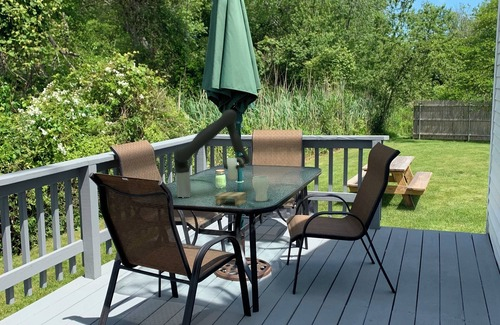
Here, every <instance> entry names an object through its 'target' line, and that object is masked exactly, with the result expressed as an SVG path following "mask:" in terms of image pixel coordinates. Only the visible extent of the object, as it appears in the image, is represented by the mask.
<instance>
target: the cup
mask: <svg viewBox="0 0 500 325" xmlns="http://www.w3.org/2000/svg"><path fill="white" fill-rule="evenodd" d="M251 182H252V187H253V189H254V192H255V202H266V201H268V194H267V193H268V189H269V186H270V179H269V176H268V175H255V176H253V177H252V181H251Z"/></svg>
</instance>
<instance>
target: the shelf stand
mask: <svg viewBox="0 0 500 325" xmlns="http://www.w3.org/2000/svg"><path fill="white" fill-rule="evenodd" d="M214 199H215V201H214V202H215V205H216V204H221V205H223V204H225V203H227V202H228V199H230V200H231V199H233V200H234V206H235V207H240V206H242V205H244V204H245V203H247V192H244V191H243V192H242V191H241V192H238V191H237V192H236V191H222V192H219V193H217V194H216V195H214ZM226 201H227V202H226ZM222 203H223V204H222Z"/></svg>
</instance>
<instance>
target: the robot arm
mask: <svg viewBox="0 0 500 325" xmlns="http://www.w3.org/2000/svg"><path fill="white" fill-rule="evenodd" d="M237 114H238V113H237V112H236V111H235V110H234V109H227V110H224V111H223V112H222V114H221V116H220V117H219V118H218V119H216V120H215V121H214V122H212V123H210V124H208V125H207V126H206V127H205V126H204V127H203V129H202V130H200V131H199V132H198V133H197V134H196V135H195V136H194V137H193V139H192V140H191V141H190V142H189V143H188V144H186V145H185V146H184V147H183V148H182V147H179V148H176V150H175V151H174V153H173V160H174V168H175V180H176V190H177V191H176V192H177V198H178V197H189V196H191V197H192V186H191V174H190V172H191V171H190V167H189V159H191V158H192V157H193V155H195V153H197V151H199V150H201V149H202V148H203V147H205V146H206V145H207V144H209V142H211V141H213V139H215V138H216V136H218V135H219V134H220V133H221V131H223V130H224V129H226V130H227V133H228V135H229V138H230V142H231V146H232V149H233V151H234V153H235V154H238V153H239V154H241V155H237V156H235V157H234V158H237V165H236V169H237V171H239V170H240V169H244V168H246V165H248V164H250V162H251V161H250V160H251V158H250V157H249V155H248V153H247V152H246V150H245V148H244V145H243V140H242V137H241V136H240V134H239V132H238V129H237V127H236V123H235V121H236V120H237V118H238V116H237ZM223 169H225V170H228V165H227V163H226V162H225V163H224V164H223ZM189 198H190V197H189Z"/></svg>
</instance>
